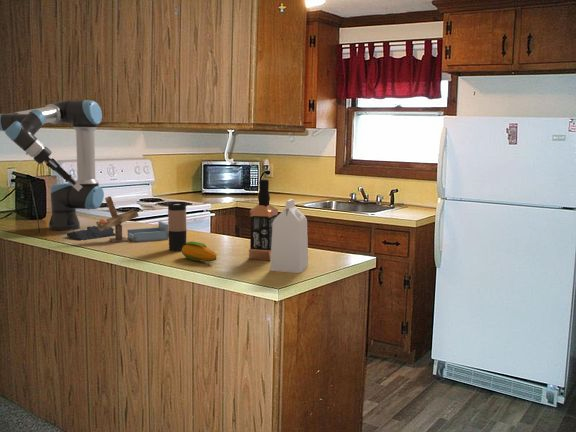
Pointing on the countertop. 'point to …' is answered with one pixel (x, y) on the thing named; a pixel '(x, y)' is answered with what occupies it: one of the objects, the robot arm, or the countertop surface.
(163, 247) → the countertop surface
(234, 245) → the countertop surface
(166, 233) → the bin
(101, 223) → the ball
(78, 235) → the dark slate chunk
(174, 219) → the travel mug
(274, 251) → the milk
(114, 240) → the fulcrum
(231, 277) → the countertop surface
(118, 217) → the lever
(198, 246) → the corn
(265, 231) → the whiskey bottle
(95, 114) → the robot arm
